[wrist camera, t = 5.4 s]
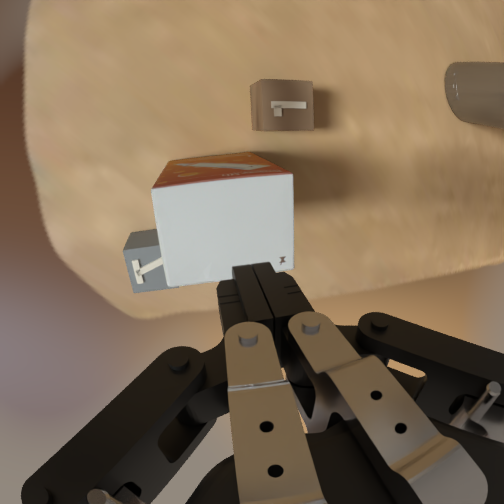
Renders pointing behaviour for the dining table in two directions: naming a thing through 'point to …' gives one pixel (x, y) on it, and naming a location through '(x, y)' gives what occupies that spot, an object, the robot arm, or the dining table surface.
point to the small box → (223, 216)
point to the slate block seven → (145, 262)
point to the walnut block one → (282, 105)
